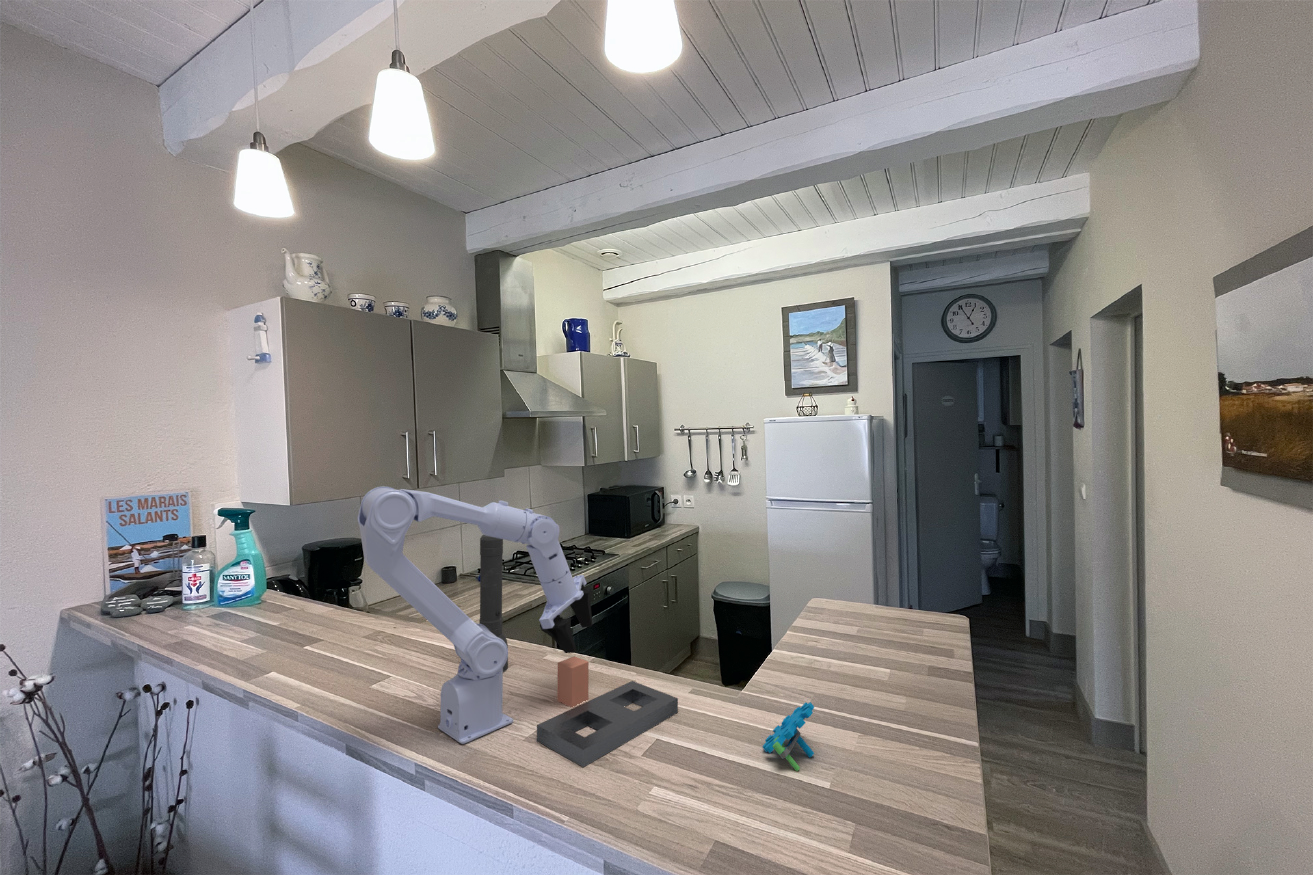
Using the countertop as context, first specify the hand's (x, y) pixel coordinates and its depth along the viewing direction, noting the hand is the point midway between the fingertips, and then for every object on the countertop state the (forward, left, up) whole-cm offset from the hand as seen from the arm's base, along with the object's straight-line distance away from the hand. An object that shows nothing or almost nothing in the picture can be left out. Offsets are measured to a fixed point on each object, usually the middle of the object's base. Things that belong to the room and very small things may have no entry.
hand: (579, 638), depth 103 cm
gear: (+8, -39, -11) cm, 41 cm away
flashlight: (-4, +23, -11) cm, 26 cm away
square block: (-2, -1, -11) cm, 11 cm away
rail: (-4, -13, -11) cm, 17 cm away
